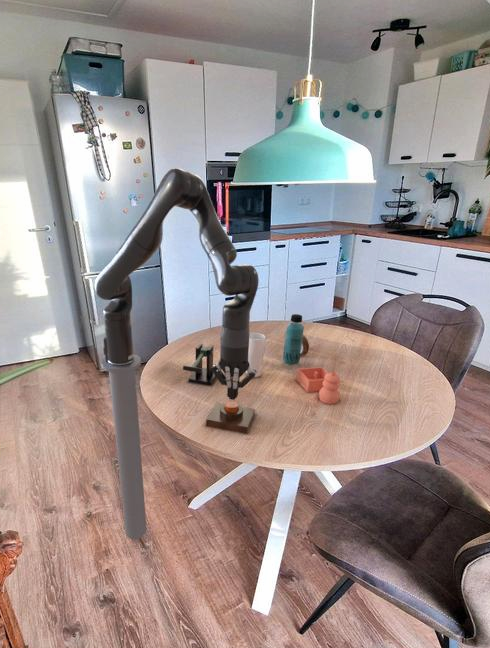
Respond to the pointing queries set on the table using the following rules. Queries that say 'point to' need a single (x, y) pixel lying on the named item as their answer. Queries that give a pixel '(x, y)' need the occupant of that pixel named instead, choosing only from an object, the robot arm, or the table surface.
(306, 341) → the brown curved piece
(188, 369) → the lever
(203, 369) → the lever stand
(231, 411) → the button
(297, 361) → the beverage bottle
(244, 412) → the button block
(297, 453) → the table surface
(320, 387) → the pottery
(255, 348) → the drinking glass
